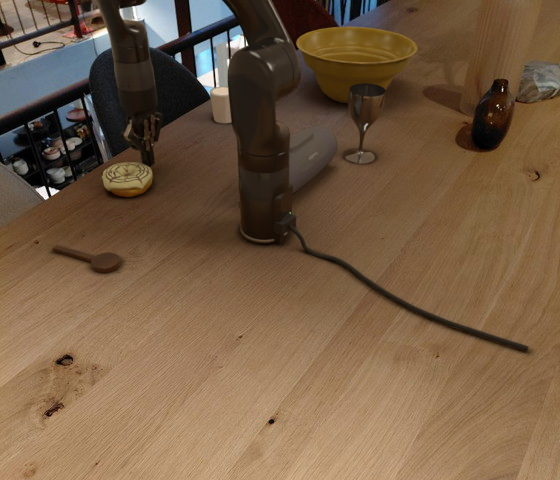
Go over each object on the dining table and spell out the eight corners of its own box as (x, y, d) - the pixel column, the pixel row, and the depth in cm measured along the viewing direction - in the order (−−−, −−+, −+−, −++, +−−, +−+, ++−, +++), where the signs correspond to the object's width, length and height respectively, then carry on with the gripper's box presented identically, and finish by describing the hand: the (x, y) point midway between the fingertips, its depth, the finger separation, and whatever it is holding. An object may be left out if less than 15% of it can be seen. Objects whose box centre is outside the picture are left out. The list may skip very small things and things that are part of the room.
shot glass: (234, 125, 146) (232, 97, 141) (208, 122, 147) (206, 94, 142) (240, 114, 151) (239, 87, 146) (215, 112, 152) (213, 84, 147)
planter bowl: (333, 67, 177) (337, 18, 167) (428, 91, 164) (437, 39, 154) (272, 99, 159) (272, 45, 149) (373, 128, 146) (380, 72, 136)
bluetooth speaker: (248, 153, 113) (249, 199, 120) (288, 165, 110) (287, 211, 117) (304, 114, 126) (302, 158, 134) (341, 124, 123) (338, 168, 130)
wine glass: (338, 160, 133) (344, 93, 122) (348, 146, 138) (355, 81, 127) (371, 166, 131) (380, 99, 120) (380, 152, 136) (389, 86, 125)
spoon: (126, 260, 104) (125, 256, 103) (110, 275, 101) (108, 271, 100) (63, 243, 108) (62, 238, 107) (46, 257, 105) (44, 252, 104)
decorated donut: (101, 200, 119) (97, 183, 116) (108, 175, 127) (105, 159, 124) (151, 198, 120) (148, 181, 117) (155, 174, 127) (153, 158, 124)
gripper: (132, 97, 108) (146, 181, 121) (169, 74, 117) (179, 155, 129) (100, 90, 110) (117, 174, 123) (138, 68, 119) (151, 149, 131)
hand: (149, 164), depth 126 cm, fingers closed
